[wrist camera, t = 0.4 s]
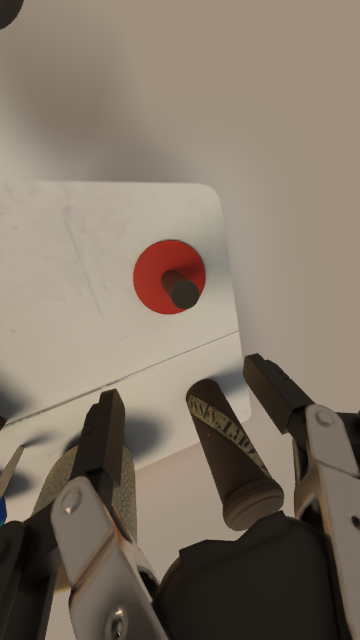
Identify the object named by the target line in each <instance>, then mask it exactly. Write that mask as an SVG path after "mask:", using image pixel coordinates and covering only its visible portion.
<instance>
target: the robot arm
mask: <svg viewBox="0 0 360 640" xmlns="http://www.w3.org/2000/svg"><path fill="white" fill-rule="evenodd" d="M243 376H244V379H245V381H246V383H247V384H248V386H249V387H250V388H251V390H252V391H253V393H254V394H255V396H256V397H257V399H258V400H259V402H260V403H261V404H262V406H263V408H264V409H265V410H266V412H267V413H268V415H269V416H270V418H271V419H272V420H273V422H274V424H275V425H276V427H277V428H278V430H279V431H280V432H281V434H282V435H283V434H286V433H290V434H291V436H292V437H293V439H292V444H293V456H294V468H295V491H294V513H295V518H293V517H289V516H285V514H284V513H283V511H282V510H281V511H278V512H275V513H273V514H270V515H268V516H265V517H263V518H260V519H258V520H257V521H256V522H255V523H254V524H253V525H252V526H251V527H250V528H249V529H248V530H247V531H246V532H245V533H244V534H243V535H242V536H241V537H240V538H239V539H238V540H236V541H223V540H204V541H201V542H198V543H196V544H193V545H191V546H188V547H186V548H183V549H181V550H179V555H180V556H179V557H178V558H177V559H176V560H175V561H174V563H173V564H172V565H171V566H170V567H169V569H168V571H167V572H166V574H165V575H164V577H163V579H162V581H161V582H160V581H159V579H158V577H157V575H156V574H155V572H154V570H153V569H152V567H151V565H150V563H149V562H148V560H147V558H146V557H145V555H144V554H143V552H142V551H141V549H140V548H139V547H138V546H137V544H136V542H135V541H134V539H133V537H132V536H131V534H130V532H129V530H128V529H127V527H126V525H125V523H124V522H123V520H122V518H121V516H120V515H119V513H118V511H117V509H116V508H115V506H114V504H113V502H112V496H113V489H114V488H117V487H120V486H121V473H122V457H123V442H124V426H125V407H124V403H123V401H122V399H121V397H120V395H119V393H118V391H117V389H112V390H108V391H104V392H102V393H101V395H100V399H99V403H97V404H93V405H92V407H91V408H90V410H89V412H88V413H87V415H86V419H85V422H84V428H83V430H82V434H81V437H80V441H79V445H78V449H77V453H76V456H75V460H74V464H73V468H72V471H71V475H70V478H69V480H68V482H67V484H66V485H65V486H64V487H63V488H62V489H61V491H60V492H59V493H58V495H57V497H56V498H55V499H54V500H53V501H52V502H51V503H50V504H48V505H47V506H46V507H44V508H43V509H41V510H40V511H38V512H37V513H36V514H34V515H33V516H31V517H30V518H28V519H27V520H26V521H24V522H23V523H22V522H20V521H10V522H8V523H6V524H4V525H3V526H1V527H0V640H45V636H46V630H47V625H48V620H49V615H50V610H51V605H52V599H53V594H54V589H55V584H56V579H57V574H58V568H59V567H60V566H62V565H63V564H64V566H65V569H66V572H67V576H68V579H69V582H70V587H71V594H70V597H69V603H68V604H69V614H70V619H71V623H72V626H73V630H74V633H75V637H76V640H360V411H359V412H358V413H357V414H356V413H339V412H334V411H332V410H331V409H329V408H327V407H325V406H322V405H318V404H315V403H314V402H313V401H312V400H311V399H310V398H309V397H308V396H307V395H306V394H305V393H304V392H303V391H302V389H301V388H299V386H298V385H297V384H296V383H295V382H294V381H293V380H292V379H290V378H289V376H288V375H287V374H286V373H284V372H283V370H282V369H281V368H280V367H279V366H278V365H277V364H275V363H273V362H272V361H270V360H264V359H263V358H262V357H261V355H259V354H258V353H256V354H253V355H248V356H246V357H245V360H244V368H243ZM118 632H119V633H120V636H119V634H118Z"/></svg>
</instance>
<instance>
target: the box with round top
mask: <svg viewBox="0 0 360 640" xmlns="http://www.w3.org/2000/svg"><path fill="white" fill-rule="evenodd" d="M6 422H7V420H6V419H4V418H3V417H1V416H0V430H1V429H2V427H3V426H4V424H5V423H6Z"/></svg>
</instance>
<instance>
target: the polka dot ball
mask: <svg viewBox="0 0 360 640" xmlns="http://www.w3.org/2000/svg"><path fill="white" fill-rule="evenodd" d="M6 518H7V511H6V504H5V497H4V494H3V496H2V497H1V499H0V527H1V526H3V525H4V523H5V520H6Z"/></svg>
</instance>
